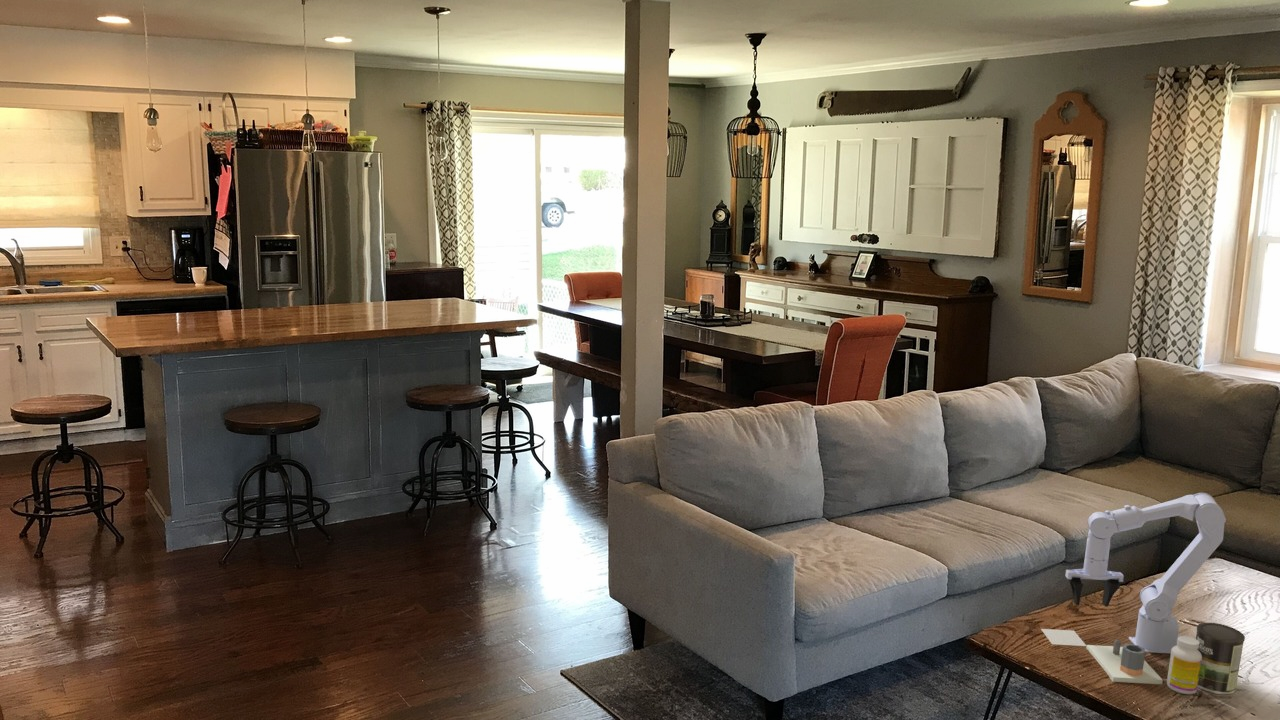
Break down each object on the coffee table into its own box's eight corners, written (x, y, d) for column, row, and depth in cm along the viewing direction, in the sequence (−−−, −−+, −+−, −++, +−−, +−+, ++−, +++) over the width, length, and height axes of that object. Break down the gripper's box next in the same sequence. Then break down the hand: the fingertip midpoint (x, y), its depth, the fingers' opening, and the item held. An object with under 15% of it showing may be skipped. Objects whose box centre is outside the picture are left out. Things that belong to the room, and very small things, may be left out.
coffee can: (1206, 695, 242) (1214, 641, 239) (1180, 674, 252) (1187, 622, 249) (1246, 694, 243) (1254, 641, 240) (1218, 673, 253) (1226, 622, 250)
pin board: (1132, 651, 263) (1134, 633, 262) (1162, 684, 246) (1164, 665, 245) (1086, 649, 263) (1088, 631, 262) (1112, 681, 247) (1115, 663, 246)
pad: (1073, 631, 273) (1074, 630, 273) (1086, 647, 264) (1086, 646, 264) (1040, 630, 274) (1040, 628, 274) (1052, 645, 265) (1052, 644, 265)
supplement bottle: (1200, 697, 241) (1208, 648, 238) (1171, 693, 242) (1178, 644, 240) (1191, 683, 247) (1198, 635, 245) (1162, 680, 248) (1169, 632, 246)
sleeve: (1130, 664, 253) (1133, 642, 252) (1146, 673, 249) (1149, 651, 248) (1115, 667, 252) (1118, 645, 250) (1131, 676, 247) (1134, 654, 246)
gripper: (1118, 552, 270) (1111, 599, 272) (1063, 550, 270) (1058, 596, 273) (1129, 562, 263) (1122, 610, 266) (1073, 560, 264) (1067, 607, 266)
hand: (1090, 604), depth 269 cm, fingers open, 7 cm apart
